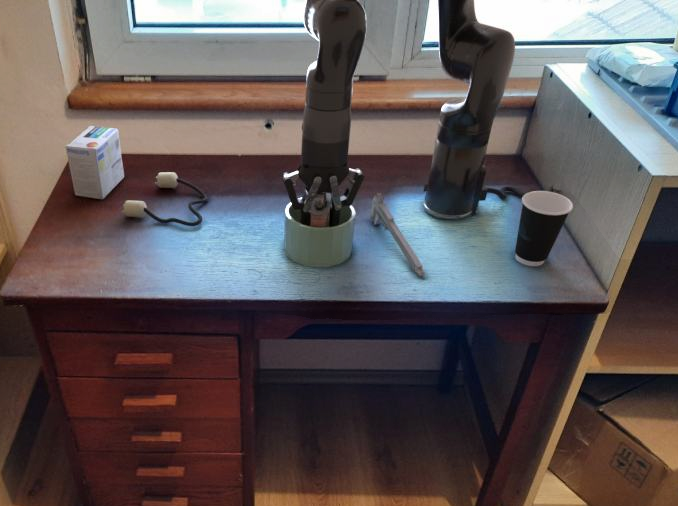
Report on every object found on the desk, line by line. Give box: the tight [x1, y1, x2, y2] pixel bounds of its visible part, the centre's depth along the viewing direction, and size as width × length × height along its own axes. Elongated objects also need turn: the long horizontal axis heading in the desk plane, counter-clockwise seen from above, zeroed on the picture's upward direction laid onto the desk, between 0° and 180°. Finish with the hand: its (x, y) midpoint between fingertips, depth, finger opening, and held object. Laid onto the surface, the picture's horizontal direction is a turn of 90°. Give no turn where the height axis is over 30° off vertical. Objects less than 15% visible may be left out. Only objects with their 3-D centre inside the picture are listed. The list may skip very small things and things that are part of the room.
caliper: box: [369, 192, 426, 277], centre depth 116 cm, size 20×1×6 cm, turn 16°
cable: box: [121, 171, 208, 227], centre depth 129 cm, size 16×16×4 cm
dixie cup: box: [514, 190, 574, 267], centre depth 111 cm, size 8×8×11 cm
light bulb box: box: [65, 125, 125, 200], centre depth 133 cm, size 11×7×11 cm, turn 164°
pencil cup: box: [283, 197, 357, 268], centre depth 115 cm, size 12×12×8 cm
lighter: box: [310, 192, 331, 228], centre depth 113 cm, size 8×3×10 cm, turn 169°
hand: (319, 227), depth 115 cm, fingers closed on lighter, 4 cm apart
